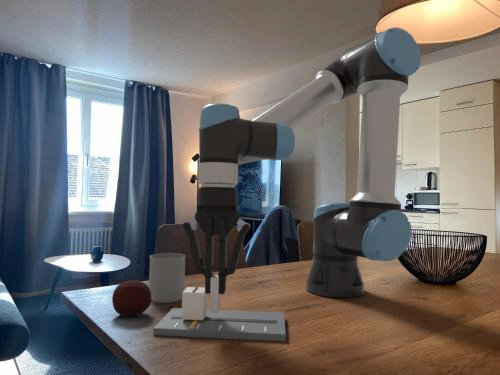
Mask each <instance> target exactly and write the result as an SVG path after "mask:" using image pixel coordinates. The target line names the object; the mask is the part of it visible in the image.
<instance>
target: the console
mask: <svg viewBox="0 0 500 375" xmlns="http://www.w3.org/2000/svg"><path fill="white" fill-rule="evenodd" d="M285 321H286V320H285V312H281V311H280V312H278V311H277V312H276V311H255V310H231V309H220V310H219V312H218V313H210V308H209V309H208V308H207V315H206V316H205V318H204V320H185V319H182V307H172V308H171V309H170V310H169V312H167V314H165V315H164V316H163V318H162V319H161V320H160V321H159V322H158V323H157V324H156V325H155V326H154V327H153V336H165V337H166V336H167V337H183V338H184V337H187V338H208V339H225V340H226V339H230V340H247V341H249V340H250V341H265V342H266V341H268V342H286V336H287V335H286V322H285Z"/></svg>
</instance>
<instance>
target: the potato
mask: <svg viewBox="0 0 500 375" xmlns="http://www.w3.org/2000/svg"><path fill="white" fill-rule="evenodd" d="M111 299H112V306H113V309H114V311H115V312H116V314H118V315H120V316H122V317H133V316H134V317H135V316H139V315H141V314H142V313H144V312H146V311H147V310H148V308H150V306H151V303H152V301H151V291H150V288H149V285H147V284H146V283H145V282H143V281H141V280H135V279H133V280H126V281H123V282H122V283H119V284H118V285H117V286H116V287H115V289H114V290H113V292H112V297H111Z"/></svg>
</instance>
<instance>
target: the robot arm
mask: <svg viewBox="0 0 500 375" xmlns="http://www.w3.org/2000/svg"><path fill="white" fill-rule="evenodd" d="M420 50H421V49H420V48H419V45H418V43H417V41H416V40H415V38H414V36H413V35H412V34H411V33H409V32H408V31H407V30H405V29H403V28H401V27H390V28H388V29H385V30H383V31H379V32H377V34H376V35H375V36H372V37H370V38H368V39H366V40H364V41H363V42H361V43H358V44H357V45H355V46H353V47H351V48H349V49H347V50H346V51H344V52H343V53H342V54H340V55H339V56H338V57H337V58H336V59H334V60H333V61H332V62H330V63H329V64H328V65H327V66H325V67H324V68H322V69H321V70H320V71H318V72H317V73H316V74H315V77H314V79H313V80H311V81H310V82H309V83H307V84H306V85H304V86H302V87H300V88H299V89H297V90H296V91H295V92H293V93H291V94H290V95H289V96H287V97H285V98H284V99H283V100H281V101H279V102H278V103H276V104H275V105H274V106H272V107H270V108H269V109H267V110H265V111H264V112H263V113H261V114H259V115H258V116H257V117H254V118H253V119H252V120H251V119H250V120H249V119H244V118H241V115H240V110H239V108H238V107H237V106H235V105H232V104H229V103H211V104H207V105H205V106H203V108H202V109H201V111H200V117H199V128H198V133H199V134H198V140H199V142H198V143H199V144H198V145H199V146H198V147H199V148H198V152H199V153H198V156H199V157H198V175H197V176H198V177H197V179H198V180H197V182H198V184H199V185H201V186H200V187H199V188H198V189H197V208H196V212H195V214H194V217H193V218H191V219H190V220H189V221H186V222H184V223H183V224H182V227H183V229H184V230H185V232H186V234H187V238H188V240H189V246H190V250H191V255H192V260H193V265H194V269H195V272H196V273H197V274H201V275H203V276H204V288H205V292H206V294H208V295H209V294H210V295H209V299H210V300H209V309H210V313H218V312H219V310H221V295H224V294H225V292H226V291H227V289H226V288H227V277H228V276H229V275H234V273H235V272H236V270H237V266H238V264H239V263H238V262H239V259H240V255H241V251H242V247H243V243H244V240H245V236H246V234H247V233H248V231H249V230H250V228H251V224H250V223H248V222H245V221H244V220H243V219H241V218H240V217H241V216H240V213H239V212H238V189H237V188H236V187H235V186H237V185H238V181H239V180H238V179H239V177H238V176H239V175H238V174H239V166H240V165H242V164H247V163H253V162H258V161H259V162H260V161H263V160H265V161H266V160H269V161H270V160H271V161H286V160H288V159H289V158H290V157H291V156H292V154H293V152H294V150H295V146H296V145H295V144H296V142H295V141H296V140H295V139H296V137H295V132H294V130H295V129H296V128H297V127H299V126H300V125H301V124H303V123H304V122H305V121H307V120H309V119H310V118H312V117H313V116H314V115H316V114H317V113H319V112H320V111H322V110H323V109H324V108H325V107H327V106H329V105H330V104H331V105H334V104H335V105H336V104H338V103H339V102H341V101H343V99H344V100H345V99H346V98H348V97H350V96H353V95H356V94H359V95H360V96H361V97H362V104H361V119H360V120H361V121H360V135H359V151H358V167H357V169H358V170H357V182H356V183H357V184H356V194H354V196H353V197H352V198H350V199H349V202H339V203H337V202H336V203H328V204H327V203H326V204H321V205H318V206H316V207H315V208H314V210H313V218H312V226H313V227H312V228H313V231H312V240H313V241H312V242H313V243H312V244H313V245H312V254H313V255H312V263H311V265H310V268H309V271H308V274H307V277H306V281H305V289H306V291H307V292H309V293H312V294H315V295H318V296H322V297H331V298H355V297H361V296H363V295H364V294H365V283H364V280H363V277H362V274H361V271H360V267H359V265H358V264H359V263H358V257H360V258H364V259H367V260H369V261H376V262H377V261H378V262H391V261H394V260H396V259H398V258H399V257H400V256H402V253H404V252H406V250H407V249H408V246H409V244H410V242H411V237H412V225H411V222H410V221H409V217H408V216H407V214H405V213H403V212H402V203H401V202H400V200H399V199H398V198H397V197H396V181H397V180H396V178H397V176H396V175H397V165H398V164H397V159H398V143H399V126H400V125H399V124H400V109H401V107H400V106H401V97H402V95H403V94H404V93H406V92H407V91H408V89H409V77H411V76H413V75H414V74H415V73H416V72H417V71H418V70H419V69H420V66H421V61H422V60H421V59H422V55H421V51H420ZM236 225H237V227H236V230H237V231H238V232H237V236H236V239H235V243H234V247H233V252H232V256H231V259H230V263H229V264H228V237H229V234H230V233H231V232H232V230H233V229H234V227H235V226H236ZM198 226H199V227H200V229H201V230H202V232H203V233H204V234H205V235H204V236H205V237H204V238H205V251H204V252H205V254H204V255H205V257H204V260H203V255H202V249H201V246H200V242H199V236H198V232H197V229H198ZM215 236H218V274H214V272H215V270H214V266H215V265H214V262H215V260H214V259H215V257H214V256H215V255H214V254H215ZM227 265H229V266H227Z"/></svg>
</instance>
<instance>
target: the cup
mask: <svg viewBox="0 0 500 375" xmlns="http://www.w3.org/2000/svg"><path fill="white" fill-rule="evenodd" d="M185 267H186V255H185V254H182V253H175V252H173V253H171V252H166V253H165V252H164V253H154V254H151V255H149V273H148V274H149V278H148V287H149V288H150V291H151V302H155V303H174V302H175V303H176V302H178V301H182V292H183V291H184V290H185V280H186V279H185V277H186V276H185V273H186V272H185V271H186V268H185Z"/></svg>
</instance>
